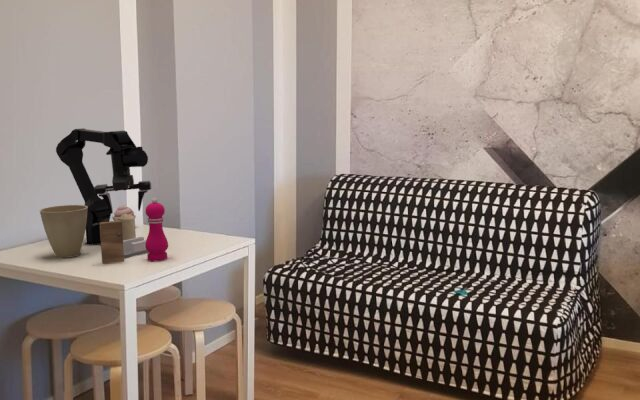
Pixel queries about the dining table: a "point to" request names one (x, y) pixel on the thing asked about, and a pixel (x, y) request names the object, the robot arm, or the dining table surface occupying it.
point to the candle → (128, 226)
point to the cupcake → (122, 212)
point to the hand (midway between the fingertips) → (125, 212)
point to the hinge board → (134, 247)
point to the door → (111, 242)
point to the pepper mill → (156, 232)
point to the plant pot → (65, 228)
